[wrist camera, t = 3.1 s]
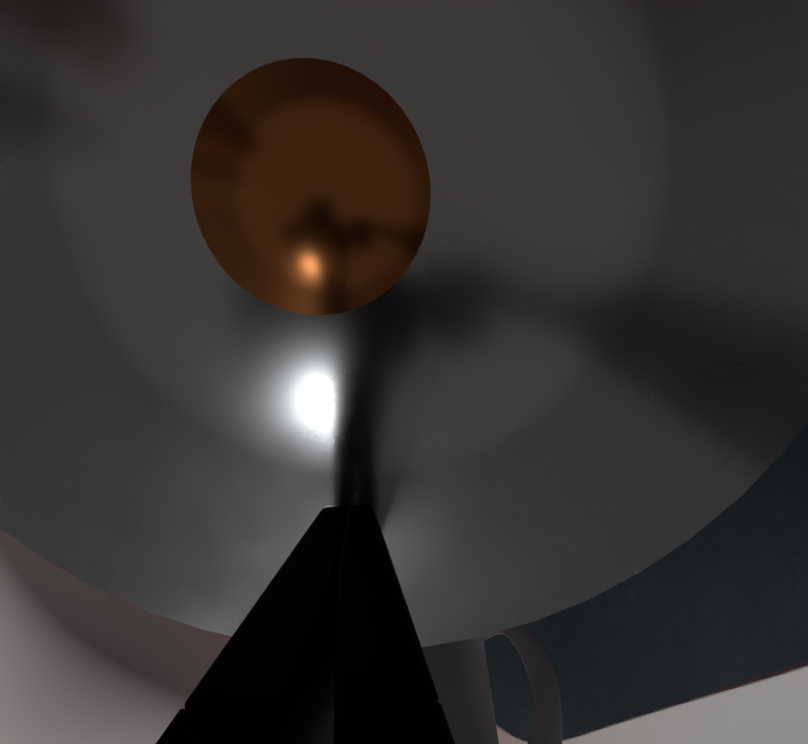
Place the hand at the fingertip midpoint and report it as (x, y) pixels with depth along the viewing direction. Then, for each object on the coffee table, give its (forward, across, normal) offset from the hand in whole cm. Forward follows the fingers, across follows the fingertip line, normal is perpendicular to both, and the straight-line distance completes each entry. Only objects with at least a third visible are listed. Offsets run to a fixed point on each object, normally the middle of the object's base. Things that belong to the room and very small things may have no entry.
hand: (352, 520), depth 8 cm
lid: (+3, 0, -5) cm, 6 cm away
